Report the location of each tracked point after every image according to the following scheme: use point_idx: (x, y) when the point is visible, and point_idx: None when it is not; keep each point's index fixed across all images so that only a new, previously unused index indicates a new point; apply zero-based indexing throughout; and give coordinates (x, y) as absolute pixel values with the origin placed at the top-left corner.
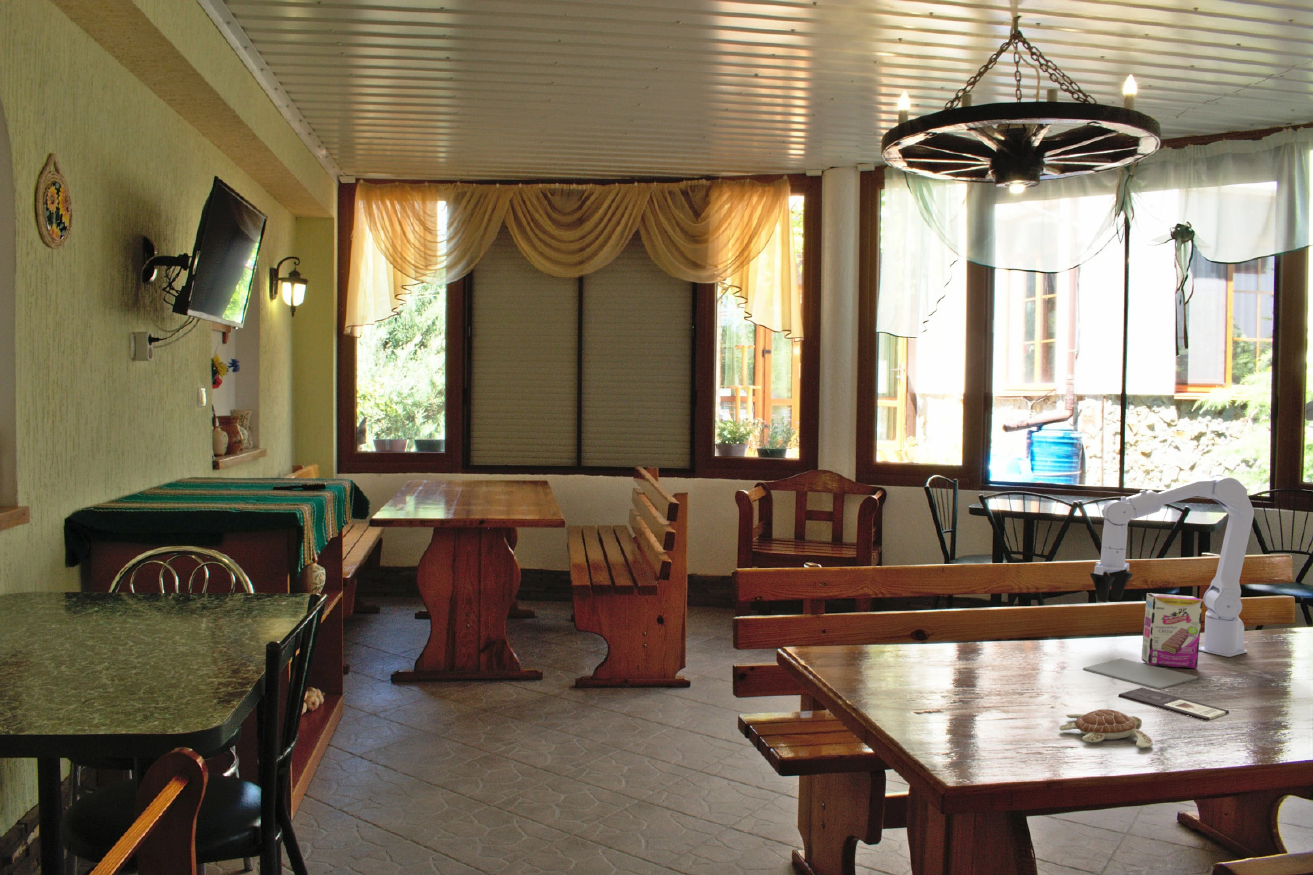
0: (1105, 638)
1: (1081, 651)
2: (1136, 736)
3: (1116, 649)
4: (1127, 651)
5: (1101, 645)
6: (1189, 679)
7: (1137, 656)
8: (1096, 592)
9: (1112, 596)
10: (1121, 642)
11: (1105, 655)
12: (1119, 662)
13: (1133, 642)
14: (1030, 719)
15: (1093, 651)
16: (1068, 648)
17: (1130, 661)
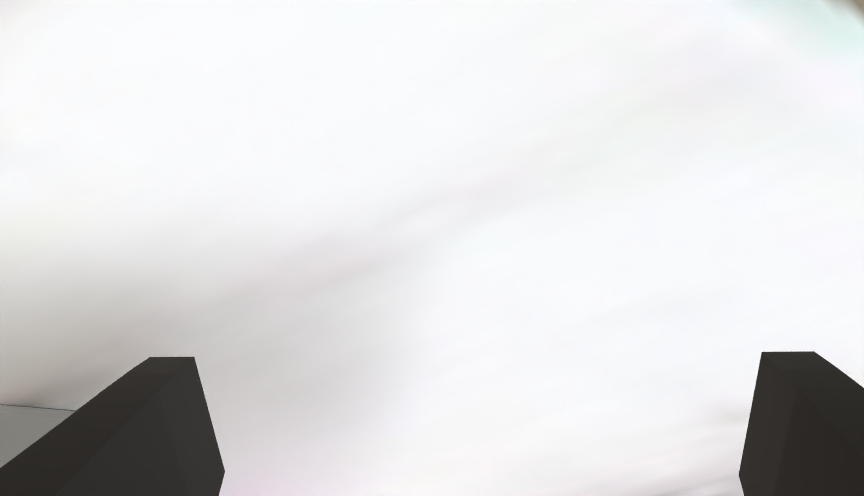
0: (706, 9)
1: (42, 146)
2: None
3: (372, 274)
4: (391, 346)
5: (386, 137)
6: None
7: (321, 437)
8: (24, 458)
9: (771, 379)
10: (661, 185)
11: (128, 308)
12: None
13: (752, 246)
14: None
15: (139, 201)
16: (7, 22)
17: None
